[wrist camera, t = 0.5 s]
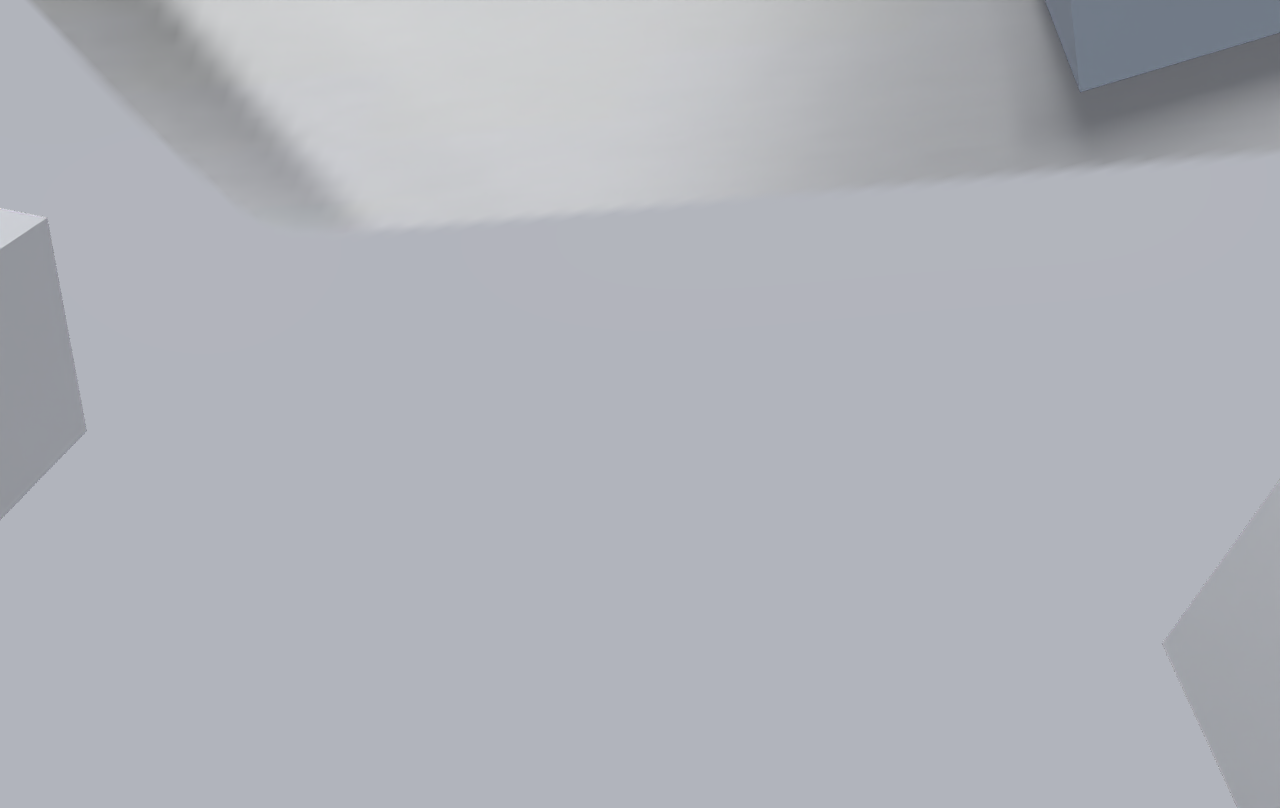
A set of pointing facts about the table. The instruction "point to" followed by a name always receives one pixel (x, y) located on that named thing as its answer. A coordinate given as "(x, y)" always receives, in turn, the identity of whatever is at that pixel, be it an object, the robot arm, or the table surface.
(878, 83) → the table surface
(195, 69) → the table surface
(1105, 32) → the collar block
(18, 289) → the robot arm
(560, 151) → the table surface
